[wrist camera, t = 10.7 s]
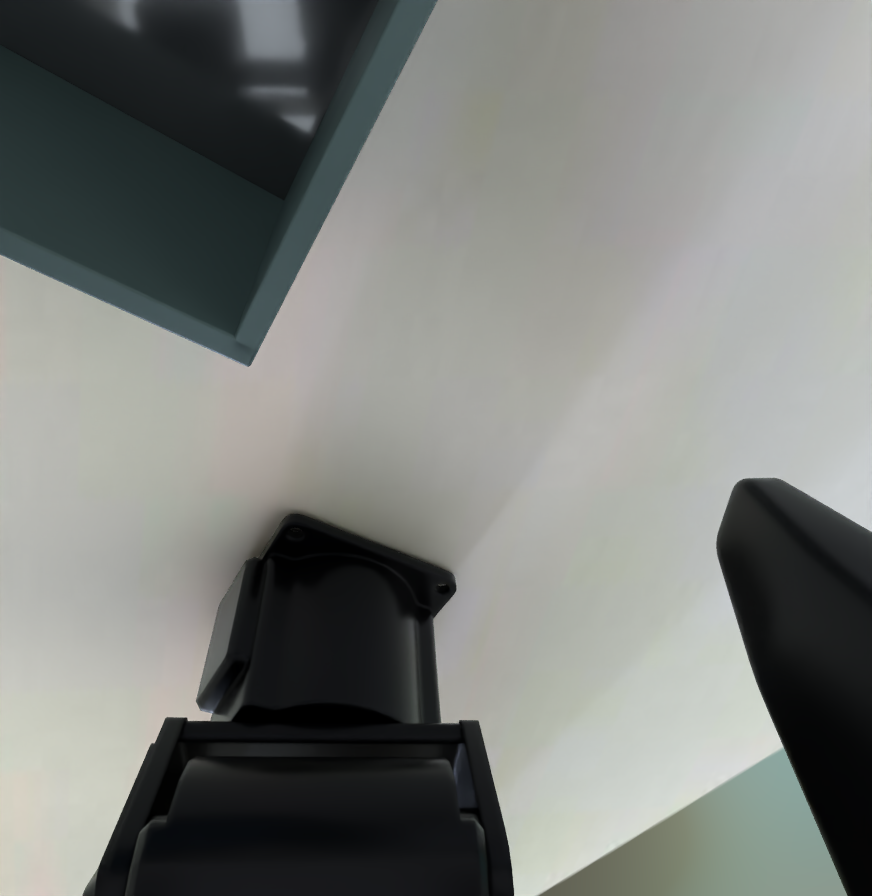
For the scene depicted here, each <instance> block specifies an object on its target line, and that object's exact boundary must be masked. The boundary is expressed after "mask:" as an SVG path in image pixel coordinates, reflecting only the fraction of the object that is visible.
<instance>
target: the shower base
mask: <svg viewBox="0 0 872 896" xmlns="http://www.w3.org/2000/svg"><path fill="white" fill-rule="evenodd" d="M378 1H379V0H0V45H1V46H3V47H5V48H7V49H9V50H11V51H12V52H14V53H16V54H18V55H20V56H22V57H23V58H25V59H27V60H29V61H31V62H32V63H34V64H36V65H38V66H40V67H42V68H43V69H45V70H47V71H49V72H51V73H52V74H54V75H56V76H58V77H60V78H62V79H63V80H65V81H67V82H69V83H71V84H73V85H74V86H76V87H78V88H80V89H82V90H83V91H85V92H87V93H89V94H91V95H93V96H94V97H96V98H98V99H100V100H102V101H104V102H105V103H107V104H109V105H111V106H113V107H114V108H116V109H118V110H120V111H122V112H124V113H125V114H127V115H129V116H131V117H133V118H134V119H136V120H138V121H140V122H142V123H144V124H145V125H147V126H149V127H151V128H153V129H155V130H156V131H158V132H160V133H162V134H164V135H165V136H167V137H169V138H171V139H173V140H175V141H176V142H178V143H180V144H182V145H184V146H185V147H187V148H189V149H191V150H193V151H195V152H196V153H198V154H200V155H202V156H204V157H206V158H207V159H209V160H211V161H213V162H215V163H216V164H218V165H220V166H222V167H224V168H226V169H227V170H229V171H231V172H233V173H235V174H236V175H238V176H240V177H242V178H244V179H246V180H247V181H249V182H251V183H253V184H255V185H257V186H258V187H260V188H262V189H264V190H266V191H267V192H269V193H271V194H273V195H275V196H277V197H278V198H280V199H282V200H285V198H286V195H287V193H288V191H289V189H290V187H291V185H292V183H293V181H294V179H295V176H296V174H297V172H298V170H299V168H300V166H301V164H302V162H303V160H304V157H305V155H306V153H307V151H308V149H309V147H310V145H311V143H312V141H313V138H314V136H315V134H316V132H317V130H318V128H319V126H320V124H321V122H322V119H323V117H324V115H325V113H326V111H327V109H328V107H329V105H330V103H331V100H332V98H333V96H334V94H335V92H336V90H337V88H338V86H339V84H340V81H341V79H342V77H343V75H344V73H345V71H346V69H347V67H348V65H349V62H350V60H351V58H352V56H353V54H354V52H355V50H356V48H357V46H358V43H359V41H360V39H361V37H362V35H363V33H364V31H365V29H366V27H367V24H368V22H369V20H370V18H371V16H372V14H373V12H374V10H375V8H376V5H377V3H378Z"/></svg>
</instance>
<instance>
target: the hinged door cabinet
mask: <svg viewBox="0 0 872 896" xmlns="http://www.w3.org/2000/svg"><path fill="white" fill-rule="evenodd" d="M436 2H437V0H379V1H378V3H377V5H376V8H375V10H374V12H373V14H372V16H371V18H370V20H369V22H368V24H367V27H366V29H365V31H364V33H363V35H362V37H361V39H360V41H359V43H358V46H357V48H356V50H355V52H354V54H353V56H352V58H351V60H350V62H349V65H348V67H347V69H346V71H345V73H344V75H343V77H342V79H341V81H340V84H339V86H338V88H337V90H336V92H335V94H334V96H333V98H332V100H331V103H330V105H329V107H328V109H327V111H326V113H325V115H324V117H323V119H322V122H321V124H320V126H319V128H318V130H317V132H316V134H315V136H314V138H313V141H312V143H311V145H310V147H309V149H308V151H307V153H306V155H305V157H304V160H303V162H302V164H301V166H300V168H299V170H298V172H297V174H296V176H295V179H294V181H293V183H292V185H291V187H290V189H289V191H288V193H287V195H286V198H285V200H282V199H280V198H278V197H277V196H275V195H273V194H271V193H269V192H267V191H266V190H264V189H262V188H260V187H258V186H257V185H255V184H253V183H251V182H249V181H247V180H246V179H244V178H242V177H240V176H238V175H236V174H235V173H233V172H231V171H229V170H227V169H226V168H224V167H222V166H220V165H218V164H216V163H215V162H213V161H211V160H209V159H207V158H206V157H204V156H202V155H200V154H198V153H196V152H195V151H193V150H191V149H189V148H187V147H185V146H184V145H182V144H180V143H178V142H176V141H175V140H173V139H171V138H169V137H167V136H165V135H164V134H162V133H160V132H158V131H156V130H155V129H153V128H151V127H149V126H147V125H145V124H144V123H142V122H140V121H138V120H136V119H134V118H133V117H131V116H129V115H127V114H125V113H124V112H122V111H120V110H118V109H116V108H114V107H113V106H111V105H109V104H107V103H105V102H104V101H102V100H100V99H98V98H96V97H94V96H93V95H91V94H89V93H87V92H85V91H83V90H82V89H80V88H78V87H76V86H74V85H73V84H71V83H69V82H67V81H65V80H63V79H62V78H60V77H58V76H56V75H54V74H52V73H51V72H49V71H47V70H45V69H43V68H42V67H40V66H38V65H36V64H34V63H32V62H31V61H29V60H27V59H25V58H23V57H22V56H20V55H18V54H16V53H14V52H12V51H11V50H9V49H7V48H5V47H3V46H1V45H0V255H2V256H4V257H7V258H9V259H11V260H13V261H15V262H18V263H20V264H22V265H24V266H26V267H29V268H31V269H33V270H35V271H37V272H40V273H42V274H44V275H46V276H48V277H51V278H53V279H55V280H57V281H59V282H62V283H64V284H66V285H68V286H70V287H73V288H75V289H77V290H79V291H82V292H84V293H86V294H88V295H90V296H93V297H95V298H97V299H99V300H101V301H104V302H106V303H108V304H110V305H112V306H115V307H117V308H119V309H121V310H123V311H126V312H128V313H130V314H132V315H134V316H137V317H139V318H141V319H143V320H146V321H148V322H150V323H152V324H154V325H157V326H159V327H161V328H163V329H165V330H168V331H170V332H172V333H174V334H176V335H179V336H181V337H183V338H185V339H187V340H190V341H192V342H194V343H196V344H198V345H201V346H203V347H205V348H207V349H209V350H212V351H214V352H216V353H218V354H221V355H223V356H225V357H227V358H229V359H232V360H234V361H236V362H238V363H240V364H243V365H245V366H248V367H249V366H250V365H251V364H252V362H253V360H254V358H255V356H256V354H257V352H258V350H259V348H260V346H261V344H262V342H263V340H264V338H265V336H266V334H267V332H268V330H269V329H270V327H271V325H272V323H273V321H274V319H275V317H276V315H277V313H278V311H279V309H280V307H281V305H282V303H283V301H284V299H285V297H286V295H287V293H288V291H289V289H290V288H291V286H292V284H293V282H294V280H295V278H296V276H297V274H298V272H299V270H300V268H301V266H302V264H303V262H304V260H305V258H306V256H307V254H308V252H309V250H310V248H311V246H312V245H313V243H314V241H315V239H316V237H317V235H318V233H319V231H320V229H321V227H322V225H323V223H324V221H325V219H326V217H327V215H328V213H329V211H330V209H331V207H332V205H333V204H334V202H335V200H336V198H337V196H338V194H339V192H340V190H341V188H342V186H343V184H344V182H345V180H346V178H347V176H348V174H349V172H350V170H351V168H352V166H353V164H354V163H355V161H356V159H357V157H358V155H359V153H360V151H361V149H362V147H363V145H364V143H365V141H366V139H367V137H368V135H369V133H370V131H371V129H372V127H373V125H374V123H375V122H376V120H377V118H378V116H379V114H380V112H381V110H382V108H383V106H384V104H385V102H386V100H387V98H388V96H389V94H390V92H391V90H392V88H393V86H394V84H395V82H396V80H397V79H398V77H399V75H400V73H401V71H402V69H403V67H404V65H405V63H406V61H407V59H408V57H409V55H410V53H411V51H412V49H413V47H414V45H415V43H416V41H417V39H418V38H419V36H420V34H421V32H422V30H423V28H424V26H425V24H426V22H427V20H428V18H429V16H430V14H431V12H432V10H433V8H434V6H435V4H436Z"/></svg>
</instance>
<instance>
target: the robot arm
mask: <svg viewBox="0 0 872 896" xmlns="http://www.w3.org/2000/svg"><path fill="white" fill-rule="evenodd" d="M292 528H299V529H300V530H302V531H298V532H297V531H293V530H291V529H292ZM716 549H717V555H718V559H719V563H720V566H721V569H722V573H723V576H724V579H725V582H726V586H727V589H728V592H729V596H730V599H731V602H732V606H733V609H734V612H735V615H736V619H737V622H738V625H739V629H740V632H741V635H742V638H743V642H744V645H745V648H746V652H747V655H748V658H749V661H750V664H751V667H752V670H753V673H754V676H755V679H756V682H757V685H758V687H759V690H760V692H761V695H762V697H763V700H764V702H765V704H766V707H767V709H768V711H769V714H770V716H771V718H772V721H773V723H774V725H775V728H776V730H777V732H778V735H779V737H780V739H781V742H782V744H783V746H784V749H785V751H786V753H787V756H788V758H789V760H790V763H791V765H792V767H793V770H794V772H795V774H796V777H797V779H798V781H799V783H800V786H801V788H802V790H803V793H804V795H805V798H806V800H807V802H808V805H809V806H810V809H811V812H812V814H813V816H814V819H815V821H816V823H817V826H818V828H819V830H820V832H821V835H822V837H823V840H824V842H825V844H826V847H827V849H828V851H829V854H830V855H831V858H832V861H833V863H834V865H835V867H836V870H837V872H838V875H839V877H840V879H841V882H842V884H843V886H844V888H845V891H846V893H847V895H848V896H872V532H871V531H869V530H867V529H865V528H864V527H862V526H860V525H859V524H857V523H855V522H853V521H852V520H850V519H848V518H846V517H845V516H843V515H841V514H840V513H838V512H836V511H834V510H833V509H831V508H829V507H828V506H826V505H824V504H822V503H821V502H819V501H817V500H816V499H814V498H812V497H810V496H809V495H807V494H805V493H803V492H802V491H800V490H798V489H797V488H795V487H793V486H791V485H790V484H788V483H786V482H785V481H783V480H781V479H777V478H747V479H743V480H740V481H739V482H737V484H736V485H735V486H734V488H733V490H732V493H731V496H730V499H729V502H728V505H727V508H726V511H725V514H724V517H723V519H722V522H721V525H720V528H719V531H718V535H717V542H716ZM440 584H446V585H443V586H439V585H440ZM455 592H456V580H455V577H454V575H453V574H452V573H450V572H448V571H446V570H443V569H441V568H438V567H435V566H433V565H430V564H428V563H425V562H423V561H420V560H417V559H415V558H412V557H410V556H407V555H405V554H402V553H399V552H397V551H394V550H392V549H389V548H387V547H384V546H381V545H379V544H376V543H374V542H371V541H368V540H366V539H363V538H361V537H358V536H356V535H353V534H350V533H348V532H345V531H343V530H340V529H338V528H335V527H332V526H330V525H327V524H325V523H322V522H320V521H317V520H314V519H312V518H309V517H307V516H304V515H300V514H291V515H289V516H286V517H285V518H284V519H283V520H282V522H281V523H280V525H279V527H278V528H277V530H276V531H275V533H274V535H273V536H272V538H271V539H270V541H269V543H268V544H267V546H266V547H265V549H264V551H263V552H262V554H261V555H260V557H259V558H256V557H253V558H251V559H249V560H246V562H245V563H244V565H243V567H242V568H241V570H240V571H239V573H238V575H237V576H236V578H235V580H234V581H233V583H232V585H231V586H230V588H229V589H228V591H227V593H226V594H225V596H224V598H223V599H222V601H221V603H220V605H219V608H218V612H217V616H216V620H215V624H214V628H213V632H212V637H211V641H210V645H209V649H208V653H207V657H206V661H205V666H204V670H203V674H202V678H201V682H200V686H199V690H198V695H197V699H196V702H197V704H198V706H199V709H200V710H201V711H205V712H208V713H212V717H211V721H188V720H187V718H173V717H167V718H166V719H165V721H164V723H163V726H162V728H161V730H160V733H159V735H158V737H157V740H156V742H155V743H152V744H151V745H150V747H149V750H148V752H147V754H146V757H145V759H144V761H143V764H142V766H141V768H140V771H139V773H138V775H137V778H136V780H135V783H134V785H133V787H132V790H131V792H130V794H129V797H128V799H127V801H126V804H125V806H124V808H123V811H122V813H121V815H120V818H119V820H118V822H117V825H116V827H115V829H114V832H113V834H112V836H111V839H110V841H109V843H108V846H107V848H106V850H105V853H104V855H103V857H102V860H101V862H100V865H99V867H98V869H97V870H96V872H95V874H94V875H93V877H92V878H91V880H90V882H89V883H88V885H87V886H86V888H85V890H84V893H83V896H514V887H513V876H512V866H511V859H510V852H509V845H508V840H507V835H506V830H505V826H504V822H503V818H502V814H501V810H500V806H499V802H498V798H497V794H496V790H495V786H494V782H493V778H492V774H491V769H490V765H489V761H488V757H487V753H486V749H485V745H484V741H483V737H482V733H481V729H480V725H479V721H478V720H459V724H455V723H441V717H440V704H439V691H438V678H437V665H436V652H435V639H434V626H433V618H434V617H435V616H436V615H437V613H438V612H439V611H440V610H441V609H442V608H443V606H444V605H445V604H446V603H447V602H448V601H449V599H450V598H451V597H452V596H453V595H454V593H455Z"/></svg>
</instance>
